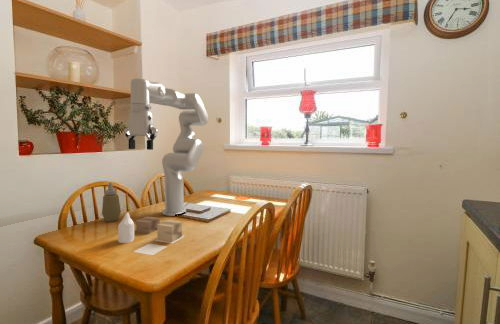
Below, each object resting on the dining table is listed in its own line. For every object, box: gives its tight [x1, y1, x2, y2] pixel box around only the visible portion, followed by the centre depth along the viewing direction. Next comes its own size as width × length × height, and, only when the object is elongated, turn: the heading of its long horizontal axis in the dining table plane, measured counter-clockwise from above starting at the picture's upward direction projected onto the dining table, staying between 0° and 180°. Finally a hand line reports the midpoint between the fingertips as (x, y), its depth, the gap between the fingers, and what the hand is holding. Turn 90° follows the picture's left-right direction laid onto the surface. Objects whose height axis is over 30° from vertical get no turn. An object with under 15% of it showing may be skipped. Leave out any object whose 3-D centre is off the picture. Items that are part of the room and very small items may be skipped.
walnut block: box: [135, 216, 161, 235], centre depth 116 cm, size 6×6×6 cm
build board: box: [133, 235, 185, 257], centre depth 103 cm, size 22×14×1 cm, turn 160°
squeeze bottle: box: [101, 182, 122, 223], centre depth 133 cm, size 8×8×18 cm
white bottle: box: [117, 212, 135, 244], centre depth 105 cm, size 6×12×6 cm
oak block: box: [156, 219, 183, 243], centre depth 107 cm, size 6×6×6 cm
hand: (140, 149), depth 120 cm, fingers open, 9 cm apart
